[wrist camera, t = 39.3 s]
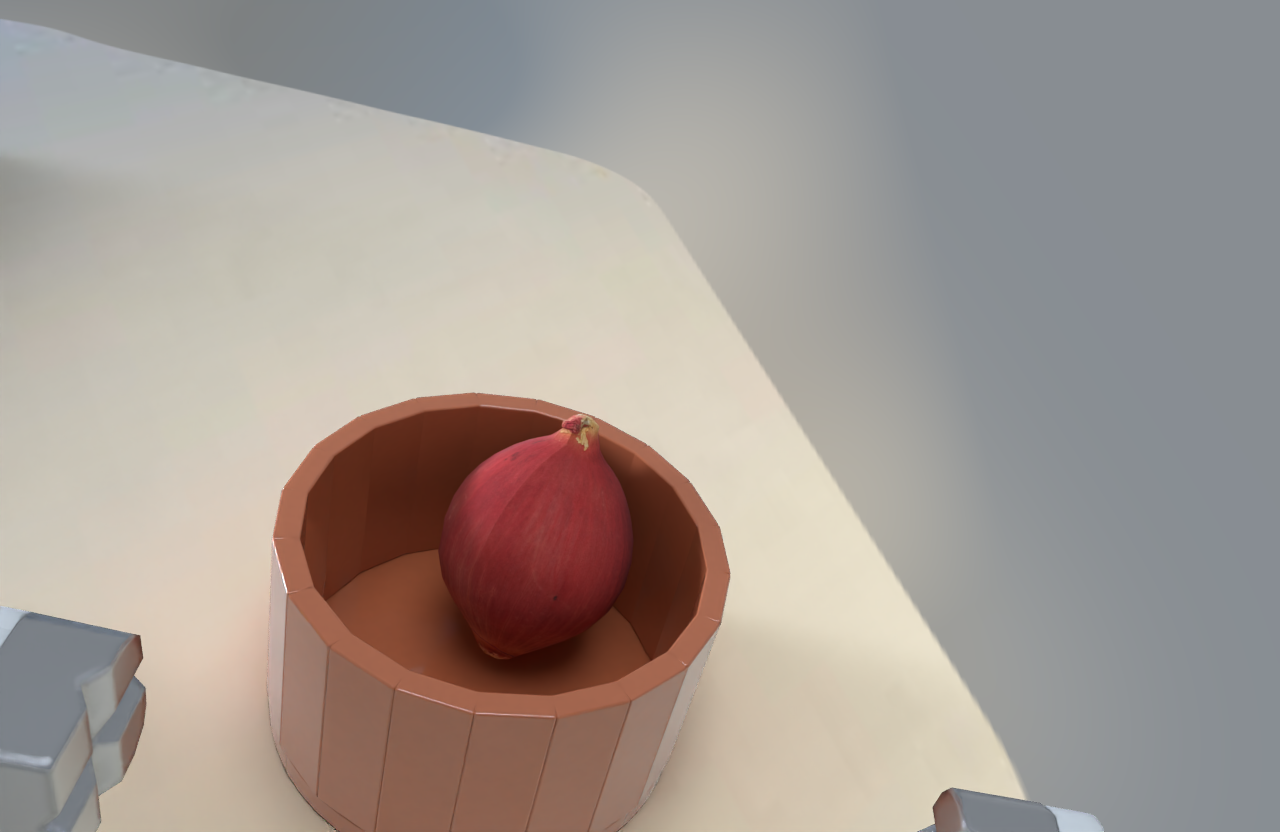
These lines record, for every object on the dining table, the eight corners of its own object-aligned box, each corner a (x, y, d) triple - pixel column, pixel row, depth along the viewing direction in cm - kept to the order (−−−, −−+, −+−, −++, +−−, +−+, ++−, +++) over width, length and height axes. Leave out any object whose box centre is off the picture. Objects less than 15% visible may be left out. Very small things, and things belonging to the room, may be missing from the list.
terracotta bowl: (648, 564, 42) (694, 414, 38) (697, 881, 33) (767, 727, 28) (296, 536, 39) (305, 373, 35) (236, 874, 30) (239, 703, 26)
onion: (414, 593, 38) (499, 367, 37) (578, 649, 39) (666, 430, 38) (392, 660, 32) (492, 395, 31) (585, 724, 33) (688, 468, 32)
